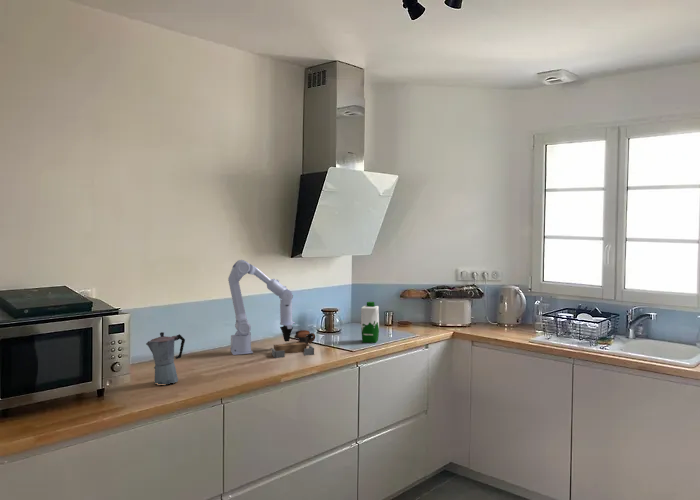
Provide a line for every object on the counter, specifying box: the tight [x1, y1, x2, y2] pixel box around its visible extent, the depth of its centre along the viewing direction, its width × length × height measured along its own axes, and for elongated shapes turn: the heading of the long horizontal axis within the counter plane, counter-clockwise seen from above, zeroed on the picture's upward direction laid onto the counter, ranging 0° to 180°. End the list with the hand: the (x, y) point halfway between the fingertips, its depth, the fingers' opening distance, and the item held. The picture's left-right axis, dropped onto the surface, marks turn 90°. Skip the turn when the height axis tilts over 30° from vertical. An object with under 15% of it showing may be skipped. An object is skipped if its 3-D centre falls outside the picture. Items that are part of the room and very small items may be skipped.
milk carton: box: [360, 301, 380, 344], centre depth 294 cm, size 9×9×20 cm
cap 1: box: [271, 348, 286, 359], centre depth 265 cm, size 5×7×3 cm
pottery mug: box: [293, 329, 316, 347], centre depth 290 cm, size 12×10×8 cm
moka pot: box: [145, 332, 186, 385], centre depth 223 cm, size 10×15×20 cm, turn 135°
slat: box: [273, 342, 307, 355], centre depth 273 cm, size 15×4×4 cm, turn 109°
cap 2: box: [303, 344, 315, 356], centre depth 270 cm, size 5×7×3 cm
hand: (286, 341), depth 280 cm, fingers closed
